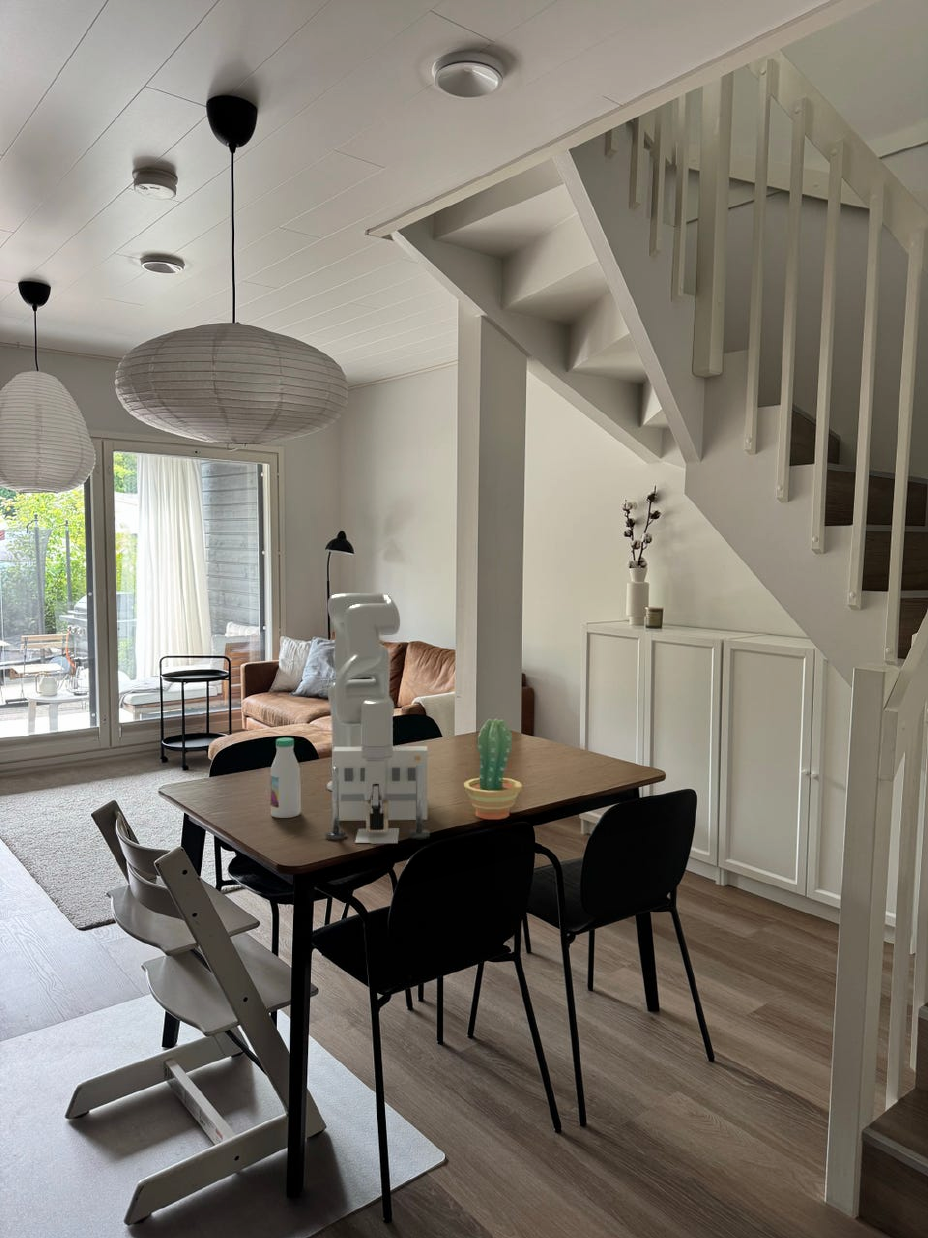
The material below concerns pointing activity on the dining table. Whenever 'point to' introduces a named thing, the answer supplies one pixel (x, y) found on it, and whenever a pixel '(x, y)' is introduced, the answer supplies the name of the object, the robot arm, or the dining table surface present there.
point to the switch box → (398, 782)
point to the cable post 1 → (335, 809)
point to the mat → (377, 836)
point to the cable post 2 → (419, 809)
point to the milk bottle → (285, 781)
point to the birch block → (384, 810)
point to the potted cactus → (493, 773)
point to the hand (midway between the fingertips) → (377, 825)
